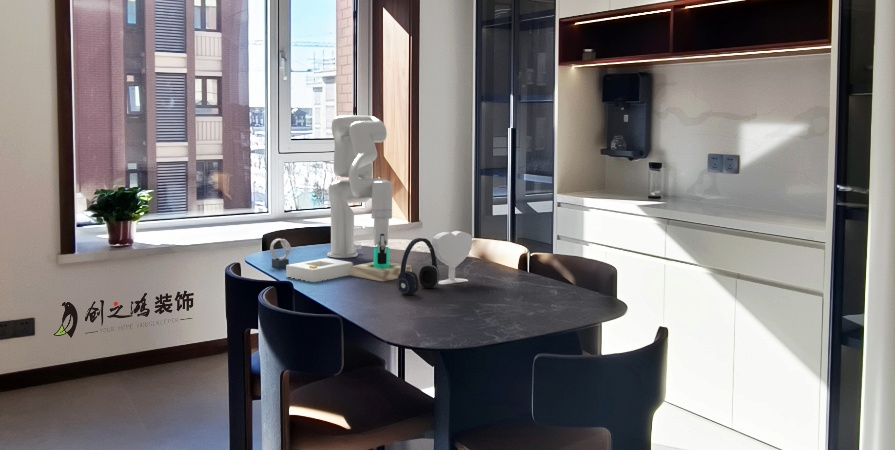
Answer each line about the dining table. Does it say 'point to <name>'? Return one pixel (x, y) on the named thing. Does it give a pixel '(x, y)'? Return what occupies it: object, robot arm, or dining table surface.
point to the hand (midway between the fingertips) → (381, 261)
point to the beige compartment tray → (378, 271)
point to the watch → (281, 261)
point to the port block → (319, 269)
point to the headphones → (427, 273)
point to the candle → (376, 265)
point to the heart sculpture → (452, 251)
